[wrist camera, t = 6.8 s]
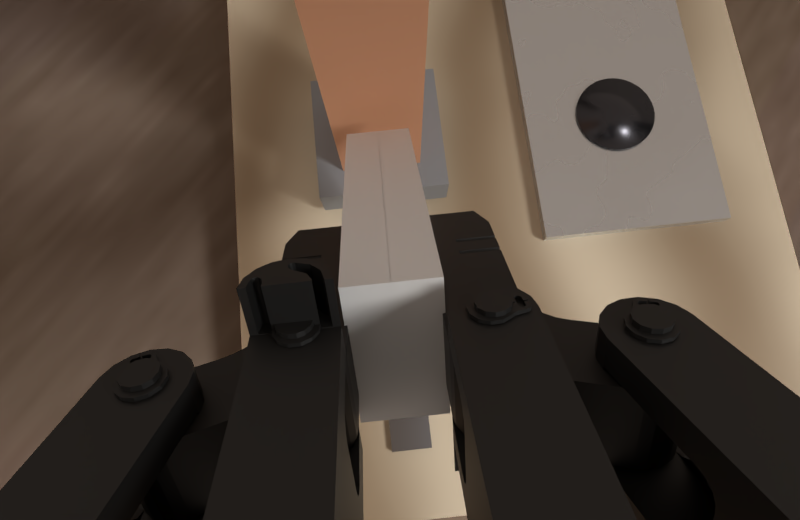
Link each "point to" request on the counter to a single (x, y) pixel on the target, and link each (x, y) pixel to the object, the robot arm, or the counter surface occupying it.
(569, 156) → the black domed knob plate
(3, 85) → the counter surface
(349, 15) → the orange lever on base
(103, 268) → the counter surface
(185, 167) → the counter surface
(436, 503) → the trammel board
